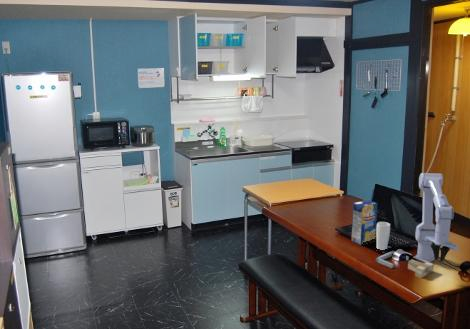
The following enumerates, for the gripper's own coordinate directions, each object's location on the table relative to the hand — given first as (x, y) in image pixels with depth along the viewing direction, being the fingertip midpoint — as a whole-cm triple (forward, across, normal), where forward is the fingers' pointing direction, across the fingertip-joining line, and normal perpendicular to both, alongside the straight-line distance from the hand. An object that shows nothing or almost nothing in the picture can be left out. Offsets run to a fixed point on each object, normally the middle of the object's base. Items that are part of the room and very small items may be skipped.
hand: (439, 260), depth 204 cm
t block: (+9, -9, 0) cm, 13 cm away
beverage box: (+10, -48, +9) cm, 50 cm away
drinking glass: (+10, -34, +6) cm, 36 cm away
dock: (+9, -24, 0) cm, 26 cm away
